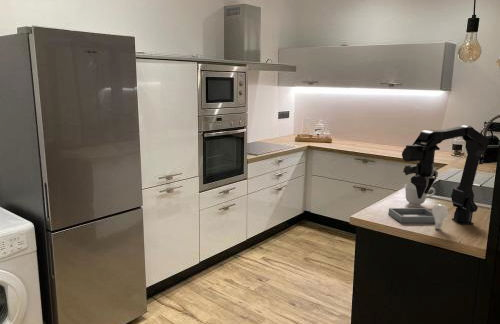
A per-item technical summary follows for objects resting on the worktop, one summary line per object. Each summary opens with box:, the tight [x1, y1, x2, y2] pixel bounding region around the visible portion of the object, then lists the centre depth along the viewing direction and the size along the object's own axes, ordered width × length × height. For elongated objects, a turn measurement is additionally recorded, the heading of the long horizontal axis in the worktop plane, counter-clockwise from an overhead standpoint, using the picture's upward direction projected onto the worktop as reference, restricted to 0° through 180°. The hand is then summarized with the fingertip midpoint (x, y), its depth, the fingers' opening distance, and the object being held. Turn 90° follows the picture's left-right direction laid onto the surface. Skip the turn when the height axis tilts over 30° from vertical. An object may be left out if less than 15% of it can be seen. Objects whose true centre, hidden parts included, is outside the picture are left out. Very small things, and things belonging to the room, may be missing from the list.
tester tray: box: [387, 207, 435, 225], centre depth 178 cm, size 18×12×3 cm, turn 97°
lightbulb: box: [431, 203, 450, 230], centre depth 165 cm, size 6×6×11 cm
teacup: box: [403, 182, 436, 208], centre depth 197 cm, size 12×15×10 cm
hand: (422, 196), depth 167 cm, fingers open, 9 cm apart
